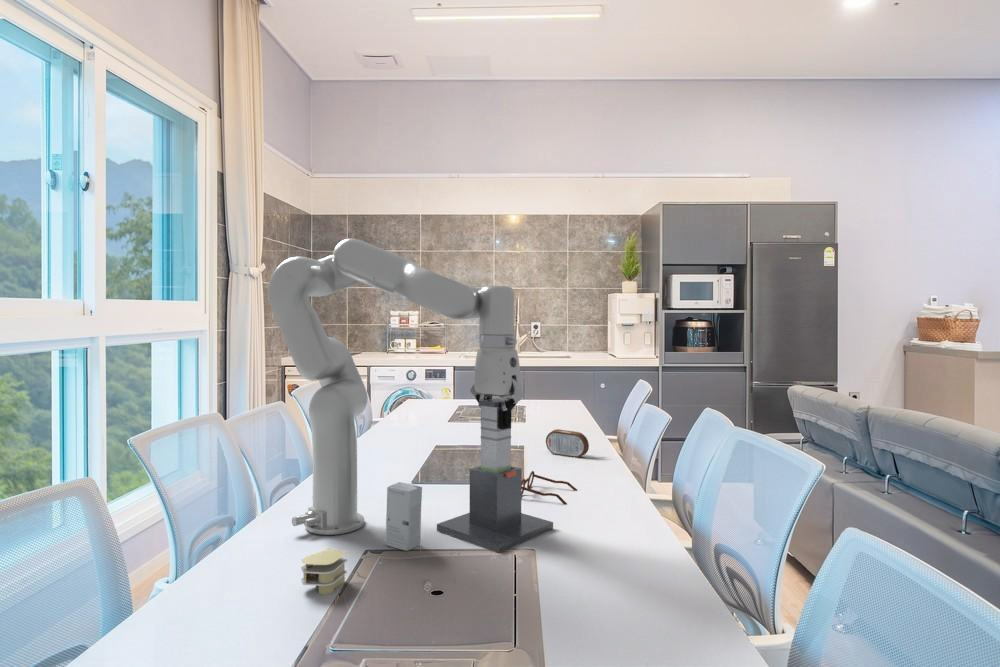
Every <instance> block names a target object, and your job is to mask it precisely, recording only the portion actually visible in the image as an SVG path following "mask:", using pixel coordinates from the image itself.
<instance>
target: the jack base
mask: <svg viewBox="0 0 1000 667" xmlns="http://www.w3.org/2000/svg"><path fill="white" fill-rule="evenodd" d="M480 466H481V465H479V466H475V467H472V468H469V512H468V513H465V514H461V515H459V516H456V517H453V518H451V519H447V520H445V521H441V522H439V523H436V531H437V532H438V533H442V534H444V535H447V536H449V537H453V538H456V539H459V540H461V541H465V542H467V543H471V544H473V545H476V546H479V547H481V548H484V549H487V550H490V551H493V552H495V551H496V552H495V553H498V552H500V553H501V551H502V552H504V551H506V550H508V549H511V548H513V547H516V546H517V545H520V544H522V543H525V542H526V541H530V540H532V539H533V538H536V537H538V536H540V535H543V534H545V533H547V532H549V531H550V532H551V530H554V522H553V521H550V520H546V519H544V518H540V517H536V516H533V515H530V514H525V513H523V512H522V496H521V492H522V489H521V481H522V480H523V478H522V475H523V473H522V472H523V471H522V468H521V467H517V466H514V465H513V466H512V465H511V470H508V471H504V472H501V473H498V474H496V473H492V472H488V471H484V470H480Z"/></svg>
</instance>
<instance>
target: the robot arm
mask: <svg viewBox="0 0 1000 667" xmlns="http://www.w3.org/2000/svg"><path fill="white" fill-rule="evenodd" d="M360 283H361V284H362V283H363V284H365V285H367V286H369V287H372V288H374V289H378V290H380V291H382V292H385V293H387V294H389V295H391V296H394V297H397V298H398V299H401V300H404V301H408V302H411V303H413V304H415V305H418V306H420V307H422V308H425V309H427V310H430V311H432V312H435V313H437V314H440V315H442V316H445V317H447V318H450V319H452V320H457V321H459V320H461V321H462V320H470V319H471V320H472V319H478V320H479V322H478V323H479V324H478V326H479V327H478V329H479V335H478V339H479V340H478V341H479V342H478V346H479V348H478V349H477V350H476V357H475V363H474V373H473V374H474V377H473V378H474V380H473V384H472V387H471V388H470V393H471V394H472V395H473V397H475V400H476V402H477V403H478V407H479V408H480V409H481V406H480V405H479V401H480V400H487V399H493V396H494V397H498V398H500V402H501V407H502V410H501V411H500V414H499V420H500V422H499V428H500V429H502V430H503V429H508V428H511V429H512V411H514V409H515V407H516V405H517V404H518V403H519V402H520V401H521V400H523V399H524V393H523V392H522V389H521V388H522V386H521V385H522V382H521V380H522V378H521V367H520V366H521V365H520V359H519V354H518V351H517V349H514V348H515V345H517V343H518V342H517V338H515V291H514V289H513V288H512V287H511V286H507V285H486V286H483V287H476V286H470V285H467V284H464V283H462V282H458V281H456V280H454V279H452V278H448V277H446V276H443V275H441V274H439V273H436V272H434V271H431V270H429V269H427V268H425V267H422V265H419V264H417V263H416V262H414V261H412V260H411V259H410V258H406V257H403V256H401V255H399V254H396V253H393V252H390V251H388V250H386V249H383V248H380V247H378V246H375V245H373V244H372V243H369V242H365V241H363V240H360V239H358V238H350V237H349V238H347V239H346V238H345V239H342V240H341V241H340V242H338V243H337V245H336V246H335V247H334V250H333V252H332V254H331V255H328V256H326V257H323V258H320V259H315V258H310V257H307V256H293V257H289V258H287V259H285V260H283V261H282V262H281V263H280V264H278V265H277V267H276V268H275V270H274V271H273V273H272V274H271V277H270V279H269V282H268V288H267V298H268V303H269V306H270V309H271V311H272V314H273V316H274V318H275V321H276V323H277V325H278V327H279V330H280V332H281V334H282V337H283V340H284V342H285V344H286V346H287V349H288V352H289V354H290V356H291V358H292V360H293V363H294V366H295V368H296V370H297V372H298V373H299V375H300V376H301V377H302V378H304V379H305V380H306V381H307V380H308V381H311V382H313V381H314V382H315V381H316V382H317V381H318V382H319V384H320V386H321V387H320V388H319V389H318V390H316V392H314V394H313V395H312V397H311V400H310V402H309V406H308V416H309V422H310V423H309V424H310V431H311V442H312V444H311V445H312V446H311V447H312V449H311V450H312V452H311V453H312V506H309V507H308V508H307V509H308V510H307V511H306V512H305V513H304V514H302V515H301V514H300V515H297V516H296V515H295V516H293V517H292V518H291V523H292V526H293V527H297V526H301V525H304V527H305V529H306V531H308V532H309V533H312V534H315V535H323V536H330V535H331V536H332V535H333V536H334V535H342V534H346V533H351V532H354V531H356V530H357V531H358V530H359V529H360V528H362V527H363V526H364V524H365V516H363V515H362V514H361V513H358V441H357V430H356V425H355V419H356V418H358V417H359V416H361V414H363V412H364V411H365V410H366V407H367V405H368V392H367V390H366V387H365V384H364V381H363V379H362V377H361V375H360V372H359V370H358V368H357V366H356V363H355V361H354V358H353V356H352V354H351V352H350V351H349V349H348V348H347V345H346V344H344V342H342V341H341V340H339V339H338V338H335V337H330V336H328V335H327V334H326V331H325V329H324V327H323V325H322V322H321V320H320V317H319V315H318V313H317V312H316V310H315V308H314V307H313V305H312V304H311V301H310V297H313V298H321V297H325V296H326V297H327V296H329V295H331V294H334V293H337V292H339V291H342V290H345V289H347V288H350V287H353V286H355V285H358V284H360ZM506 399H507V403H506Z"/></svg>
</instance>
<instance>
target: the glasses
mask: <svg viewBox="0 0 1000 667" xmlns="http://www.w3.org/2000/svg"><path fill="white" fill-rule="evenodd" d="M534 478H537V479H540V480H543V481H546V482H551V483H553V484H564V485H567V486H568V487H569V488H571V489H572V490H573V491H575V492H576V491H578V489H577V488H576V486H574V485H573V484H571V483H570V482H569V481H565V480H555V479H551V478H549V477H548V478H547V477H545V476H542V475H538V474H535V471H534V470H532V471H531V472H530V474H529V476H528V478H526V479H525V478H522V479H521V497H522V496H523V494H524V491H526V492H530V493H533V494H536V495H539V496H541V497H542V496H543V497H545V496H550V497H551V496H552V497H556V498H557V499H558V500H559V501H560V502H561V503H562V504H563V505H568V503H567V501H566V500H564V498H562V497H561V496H560V495H559V494H557V493H553V492H545V493H544V492H540V491H538V490H535V489H532V488H531V487H532V486H533V482H534Z"/></svg>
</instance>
